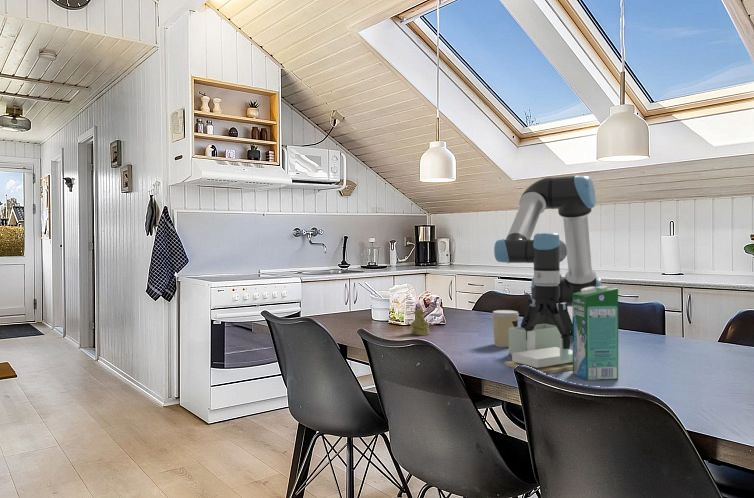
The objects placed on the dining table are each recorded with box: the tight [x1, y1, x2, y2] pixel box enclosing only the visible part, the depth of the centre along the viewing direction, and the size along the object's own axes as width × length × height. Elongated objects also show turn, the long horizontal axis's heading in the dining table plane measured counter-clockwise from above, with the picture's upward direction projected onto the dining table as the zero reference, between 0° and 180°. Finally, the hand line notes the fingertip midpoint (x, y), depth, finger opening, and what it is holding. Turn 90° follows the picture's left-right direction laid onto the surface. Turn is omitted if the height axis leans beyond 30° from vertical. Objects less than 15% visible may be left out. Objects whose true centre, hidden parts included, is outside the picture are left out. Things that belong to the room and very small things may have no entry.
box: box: [508, 324, 561, 357], centre depth 192 cm, size 16×8×9 cm, turn 119°
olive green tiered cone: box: [410, 308, 430, 336], centre depth 235 cm, size 7×7×10 cm
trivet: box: [504, 360, 573, 375], centre depth 176 cm, size 20×15×1 cm
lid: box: [511, 347, 573, 368], centre depth 176 cm, size 18×10×3 cm, turn 119°
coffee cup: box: [491, 309, 520, 348], centre depth 209 cm, size 9×9×12 cm
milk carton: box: [571, 284, 619, 381], centre depth 162 cm, size 9×9×25 cm
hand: (547, 355), depth 176 cm, fingers open, 13 cm apart
